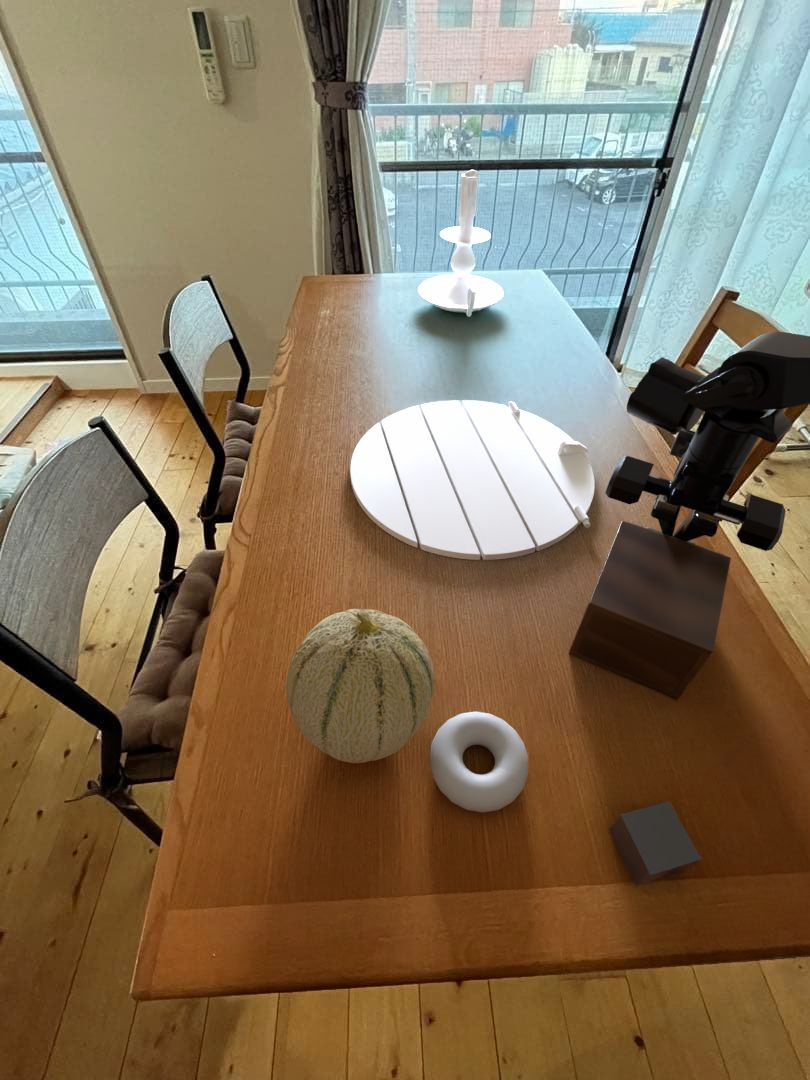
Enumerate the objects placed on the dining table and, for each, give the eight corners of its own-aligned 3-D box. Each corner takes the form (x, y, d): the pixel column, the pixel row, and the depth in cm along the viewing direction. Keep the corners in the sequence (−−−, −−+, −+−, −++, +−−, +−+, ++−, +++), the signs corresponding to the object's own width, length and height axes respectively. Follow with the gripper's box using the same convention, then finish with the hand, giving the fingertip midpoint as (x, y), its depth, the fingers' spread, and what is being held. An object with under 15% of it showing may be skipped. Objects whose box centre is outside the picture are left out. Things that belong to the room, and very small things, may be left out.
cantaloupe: (304, 800, 55) (281, 733, 44) (290, 672, 65) (269, 591, 54) (448, 765, 57) (460, 694, 46) (413, 647, 67) (416, 565, 56)
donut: (443, 709, 62) (416, 797, 55) (445, 693, 59) (417, 784, 52) (532, 737, 60) (516, 832, 53) (538, 722, 57) (522, 819, 50)
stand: (654, 815, 54) (669, 800, 51) (684, 871, 51) (702, 859, 48) (608, 828, 53) (620, 814, 50) (635, 886, 50) (650, 875, 47)
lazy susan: (542, 395, 107) (545, 378, 104) (644, 537, 80) (652, 520, 78) (336, 417, 101) (334, 401, 98) (373, 579, 74) (372, 562, 72)
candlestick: (425, 332, 125) (431, 189, 105) (413, 288, 142) (415, 158, 122) (515, 329, 126) (537, 188, 106) (492, 285, 143) (507, 157, 123)
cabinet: (600, 573, 76) (622, 520, 68) (697, 609, 71) (731, 557, 64) (568, 653, 67) (589, 602, 59) (676, 700, 62) (713, 651, 55)
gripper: (818, 437, 61) (753, 533, 73) (647, 391, 68) (612, 486, 79) (811, 498, 55) (741, 592, 66) (623, 441, 61) (589, 536, 73)
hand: (667, 547), depth 71 cm, fingers closed, pressing on drawer
